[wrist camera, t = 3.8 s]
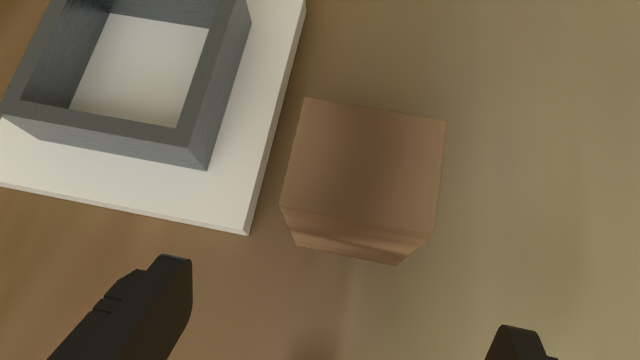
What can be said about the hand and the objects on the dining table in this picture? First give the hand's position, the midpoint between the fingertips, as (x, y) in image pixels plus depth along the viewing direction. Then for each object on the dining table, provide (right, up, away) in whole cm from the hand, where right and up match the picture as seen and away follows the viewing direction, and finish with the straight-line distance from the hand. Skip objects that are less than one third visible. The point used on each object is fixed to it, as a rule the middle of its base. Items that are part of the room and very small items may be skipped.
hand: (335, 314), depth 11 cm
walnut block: (+1, +2, +11) cm, 11 cm away
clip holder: (-9, +8, +13) cm, 18 cm away
